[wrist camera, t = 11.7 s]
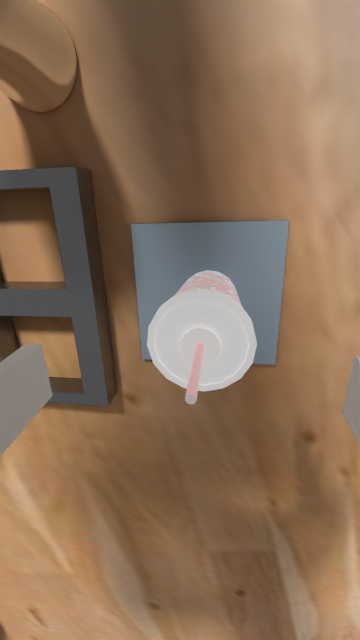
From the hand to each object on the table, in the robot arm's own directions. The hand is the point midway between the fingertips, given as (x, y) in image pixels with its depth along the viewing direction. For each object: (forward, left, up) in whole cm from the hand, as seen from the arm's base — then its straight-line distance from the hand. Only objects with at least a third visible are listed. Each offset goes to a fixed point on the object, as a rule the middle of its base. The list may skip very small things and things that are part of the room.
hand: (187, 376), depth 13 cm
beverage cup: (0, 0, -13) cm, 13 cm away
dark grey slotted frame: (0, -15, -14) cm, 20 cm away
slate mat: (0, 0, -14) cm, 14 cm away
